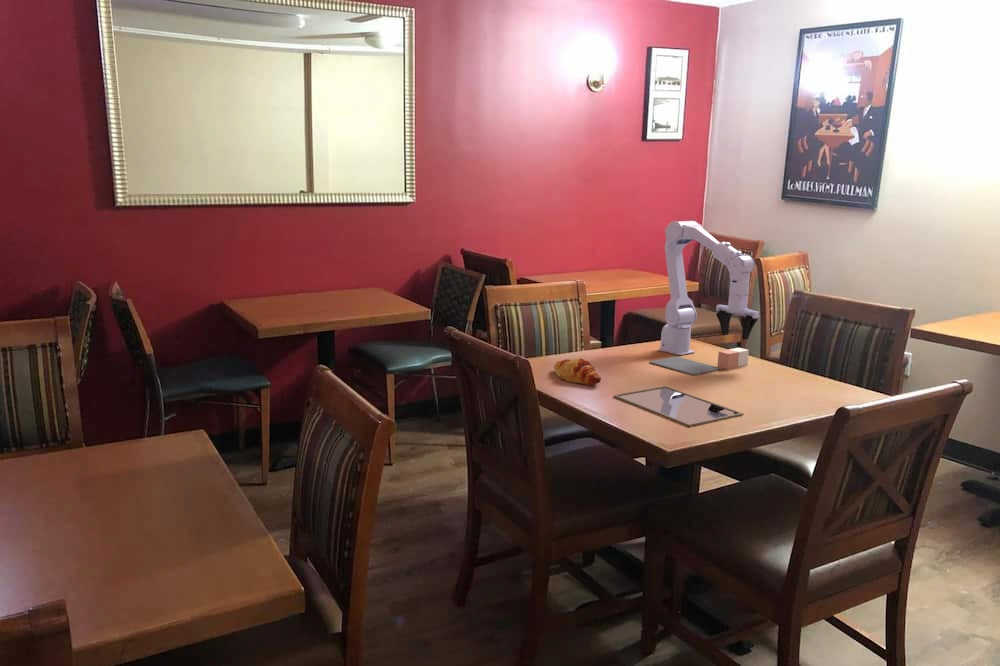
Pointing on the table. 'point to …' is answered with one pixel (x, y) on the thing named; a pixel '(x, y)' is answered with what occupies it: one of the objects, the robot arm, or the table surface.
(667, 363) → the mat
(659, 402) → the picture frame
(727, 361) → the two-tone block
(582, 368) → the croissant
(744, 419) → the table surface
